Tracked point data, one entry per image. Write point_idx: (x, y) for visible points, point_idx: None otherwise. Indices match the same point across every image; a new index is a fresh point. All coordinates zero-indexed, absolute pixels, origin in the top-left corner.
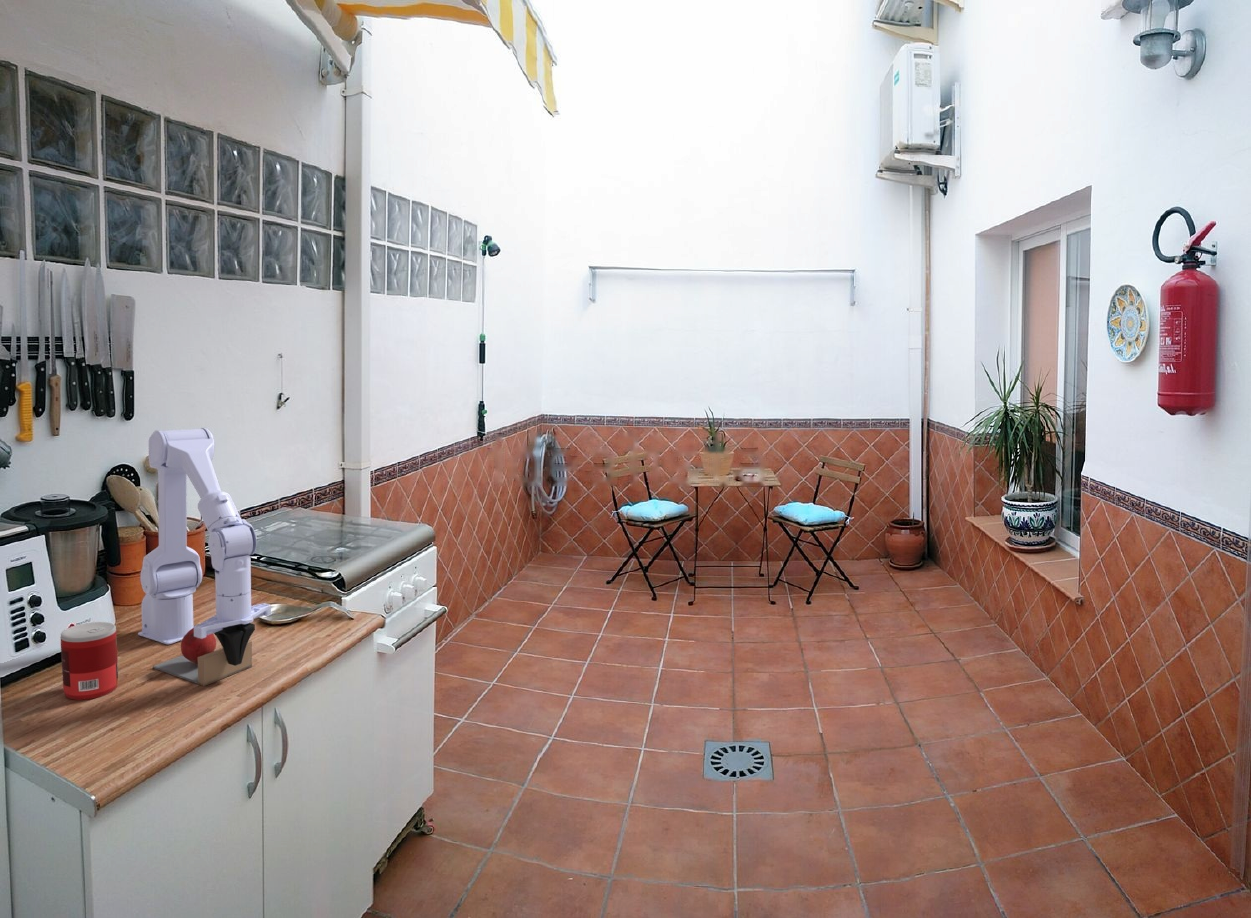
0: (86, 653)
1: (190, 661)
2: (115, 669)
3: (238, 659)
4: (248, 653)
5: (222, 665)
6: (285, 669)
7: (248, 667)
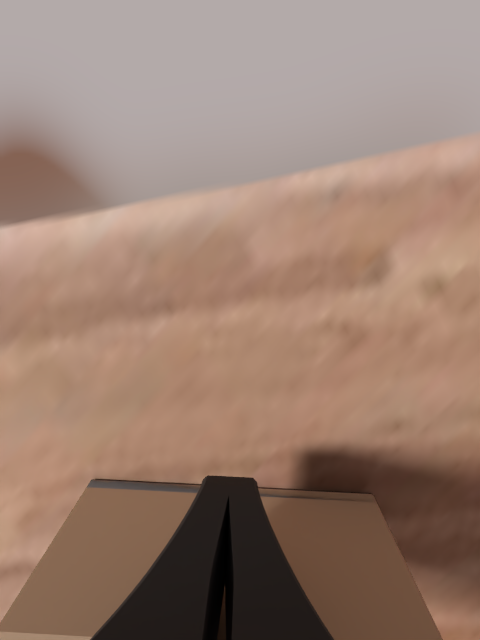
0: None
1: None
2: None
3: (239, 497)
4: (74, 549)
5: None
6: (4, 314)
7: (112, 482)
